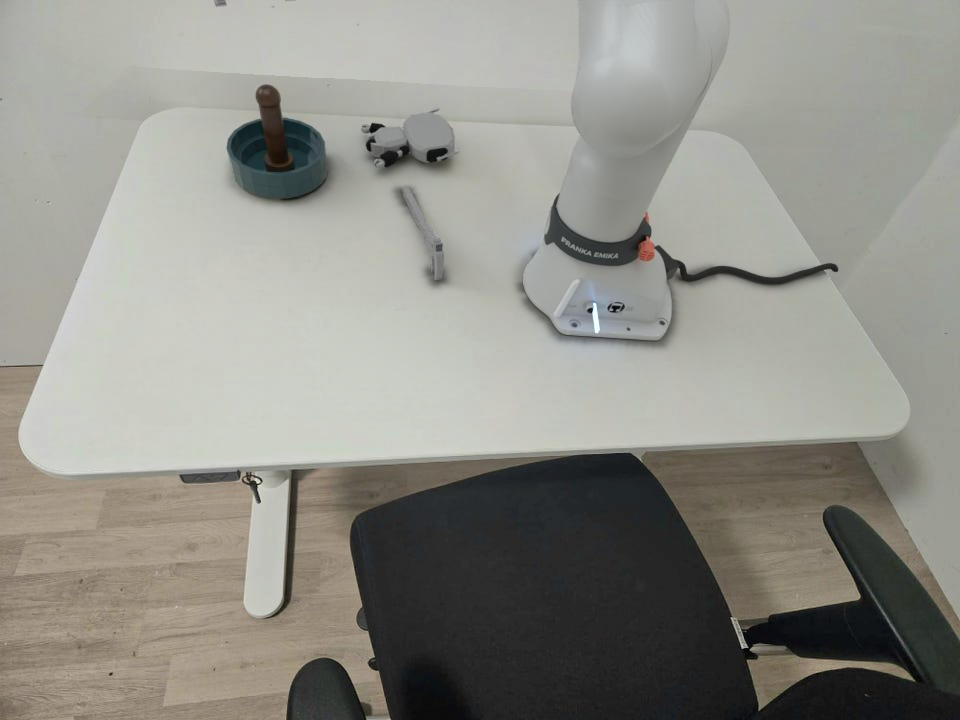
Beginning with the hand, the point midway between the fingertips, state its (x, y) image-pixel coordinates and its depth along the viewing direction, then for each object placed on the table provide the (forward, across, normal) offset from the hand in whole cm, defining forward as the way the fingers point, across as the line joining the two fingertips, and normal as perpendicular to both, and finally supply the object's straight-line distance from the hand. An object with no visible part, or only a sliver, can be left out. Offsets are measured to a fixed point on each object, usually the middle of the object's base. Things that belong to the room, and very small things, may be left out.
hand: (256, 3), depth 81 cm
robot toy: (+23, +19, +6) cm, 30 cm away
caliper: (+34, +16, -10) cm, 39 cm away
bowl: (+23, -2, +3) cm, 23 cm away
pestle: (+22, -2, +3) cm, 22 cm away
